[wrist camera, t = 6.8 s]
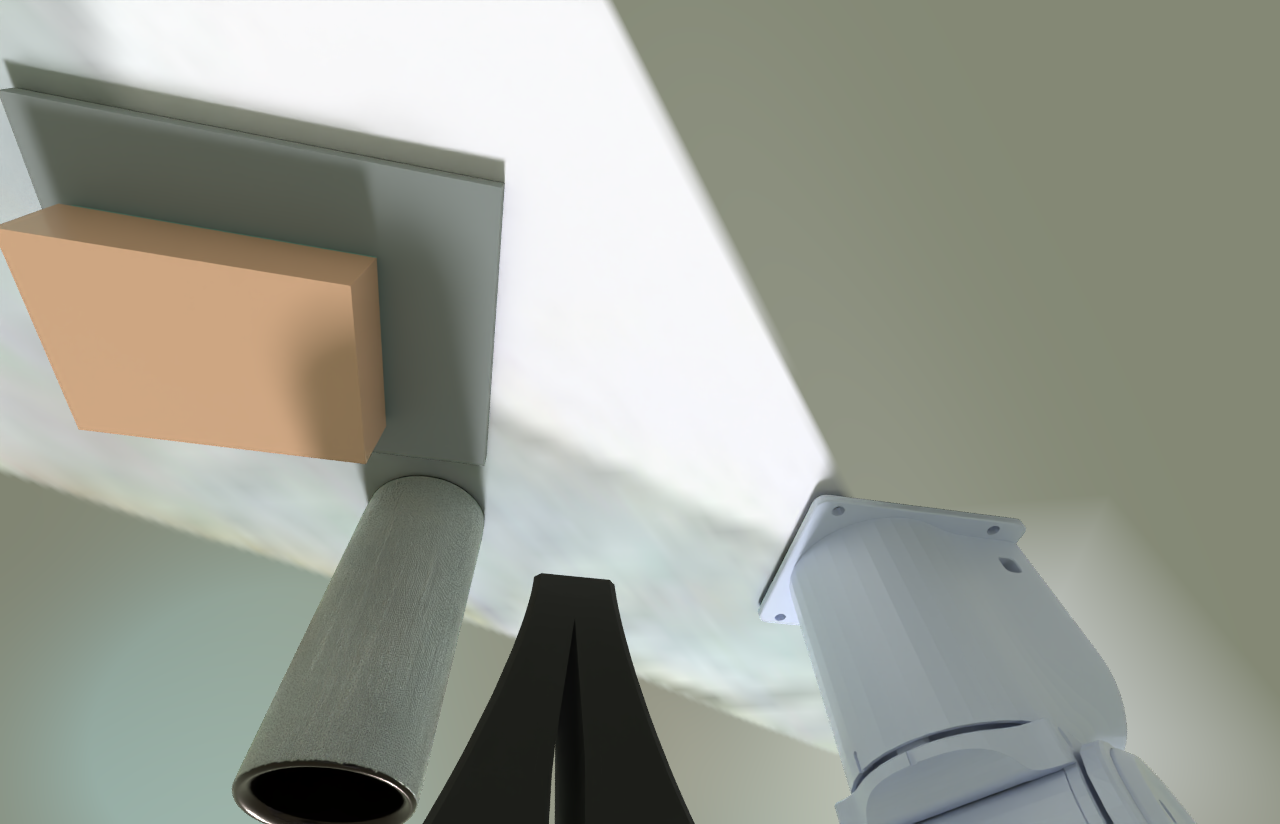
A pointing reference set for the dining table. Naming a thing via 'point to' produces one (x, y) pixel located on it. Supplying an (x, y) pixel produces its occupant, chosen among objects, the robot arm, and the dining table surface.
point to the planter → (370, 667)
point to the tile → (204, 332)
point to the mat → (309, 237)
